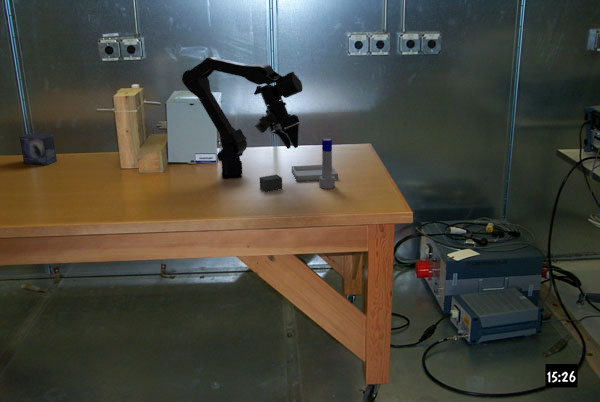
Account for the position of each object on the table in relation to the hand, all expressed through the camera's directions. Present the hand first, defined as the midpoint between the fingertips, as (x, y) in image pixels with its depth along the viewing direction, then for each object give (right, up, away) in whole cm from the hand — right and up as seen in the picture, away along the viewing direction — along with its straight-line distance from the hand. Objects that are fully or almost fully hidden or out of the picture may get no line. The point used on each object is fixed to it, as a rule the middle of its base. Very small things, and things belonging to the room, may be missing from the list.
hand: (292, 148), depth 202 cm
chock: (-7, -13, -2) cm, 15 cm away
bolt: (+11, -13, -1) cm, 17 cm away
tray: (+7, -8, +11) cm, 16 cm away
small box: (-95, -3, +31) cm, 100 cm away
